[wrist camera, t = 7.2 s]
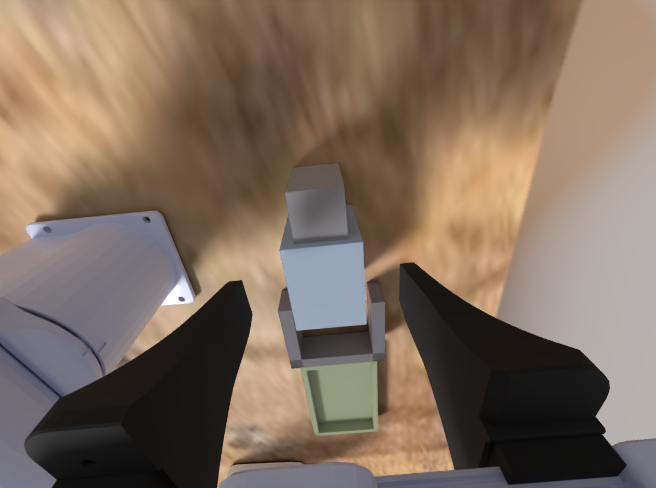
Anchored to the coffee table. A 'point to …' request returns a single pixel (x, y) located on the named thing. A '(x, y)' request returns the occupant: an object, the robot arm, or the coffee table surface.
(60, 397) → the robot arm
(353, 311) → the stepped two-tone block
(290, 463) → the photo printer
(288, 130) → the coffee table surface
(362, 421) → the tray
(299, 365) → the bay
